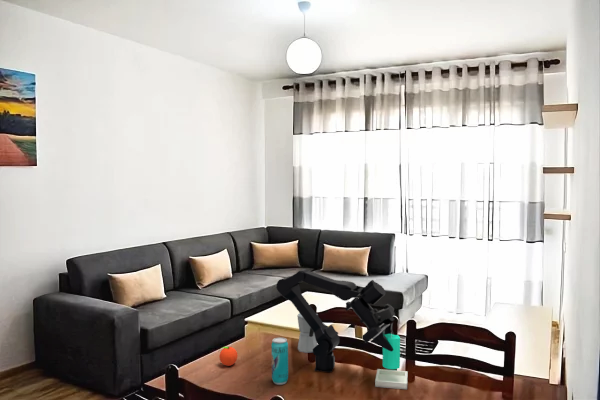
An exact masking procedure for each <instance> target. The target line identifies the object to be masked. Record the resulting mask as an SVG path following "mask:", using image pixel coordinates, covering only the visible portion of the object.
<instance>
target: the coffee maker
mask: <svg viewBox="0 0 600 400" xmlns="http://www.w3.org/2000/svg"><path fill="white" fill-rule="evenodd" d="M316 314H317V315H318V316H319V314H318V313H316ZM297 324H298V330H299V337H298V338H299V339H298V344H297V350H298V352H300V353H305V354H308V353H309V354H310V353H313V348H315V347H316V346H317V345H318V343H317V342H316V339H315V334H314V331H313V330H312V329H311V327H310V326H309V325H308V323H307V322H306V321H305V319H304V318H303V317H302V315H301V314H300V313H299V312H298V314H297Z"/></svg>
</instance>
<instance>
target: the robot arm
mask: <svg viewBox="0 0 600 400" xmlns="http://www.w3.org/2000/svg"><path fill="white" fill-rule="evenodd" d="M302 283H306V284H309V285H312V286H314V287H317V288H320V289H323V290H326V291H327V292H330V293H332V295H333V296H335V297H336V298H337V299H340V300H341V301H345V302H346V303H345V311H348V310H350V309H352V310H353V312H354V313H355V314H356V316H358V318H359V319H360V320H359V323H360V324H362V323H363V324H364V325H365V326H366V328H367V330H366V332H365V333H364V334H362V340H363V342H364V343H365V344H368V343H369V342H370V343H372V344H375V345H377V346H379V347H381V348H382V349H383V348H385V349H387V350H389V351H391V352H392V351H393V350H394V349H393V347H392V346H391V344H390V343H389V341H388V340H387V338H386V337H385V334H391V332H392V334H393V335H395V333H394V331H393V324H394V321H395V318H394V316H396V314H395V307H393V306H392V305H391V304H390V303H387V304H385V305H383V309H381V310H378V309H377V308H373V307H372V306H371V305H375V304H376V303H377V302H379V300H381V299H382V298H384V296H385V295H386V290H385V289H384V287H383V286H382V285H380V284H379V283H378V282H376V281H374V279H371V280H370V281H369V282H368V283H367V284H366V285H365V286H364V287H363V286H359V285H356V283H355V282H353V281H348V280H338V279H332V278H331V277H327V276H324V275H322V274H319V273H316V272H313V271H311V270H308V269H306V268H304V269H301V270H298V271H297V272H296V273H294V274H292V275H291V276H290V275H288V276H286V277H283V278H280V279H278V281H277V282H276V291H277V292H278V293H279V294H280V295H281V296H282V297H283V298H285V300H287V301H290V303H292V305H293V306H294V307H295V309H296V310H297V312H298V314H299V313H300V314H301V315H302V317H303V318H304V319H305V321H306V322H307V323H308V325H309V326H310V327H311V329H312V330H313V331H314V334H315V339H316V342H317V344H318V345H317V346H316V347H315V348H313V352H312V353H313V355H314V356H315V366H314V367H315V368H314V371H315V372H323V373H324V372H325V373H332V372H333V370H334V369H335V367H336V361H335V360H336V356H335V355H334V350H336V347H338V345H339V344H340V336H339V332H338V331H337V330H336V329H335V328H334V326H333V324H330V325H329V326H328V325H327V324H325V323H324V322H323V321H322V319H321V318H320V317H319V314H318V313H316V311H315V310H314V309H313V307H312V306H311V305H310V303H309V302H308V300H306V298H305V297H304V296H303V294H302V290H301V286H300V284H302ZM350 299H351V301H349V300H350ZM317 314H318V315H317Z"/></svg>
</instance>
